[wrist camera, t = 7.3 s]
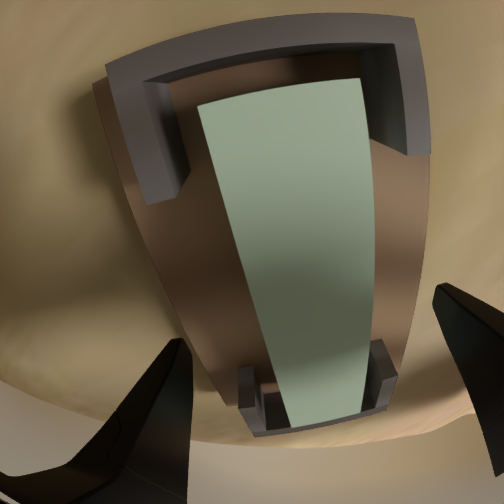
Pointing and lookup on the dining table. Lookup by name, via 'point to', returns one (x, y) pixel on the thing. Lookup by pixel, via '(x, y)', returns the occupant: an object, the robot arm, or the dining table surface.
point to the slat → (303, 233)
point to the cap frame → (211, 201)
